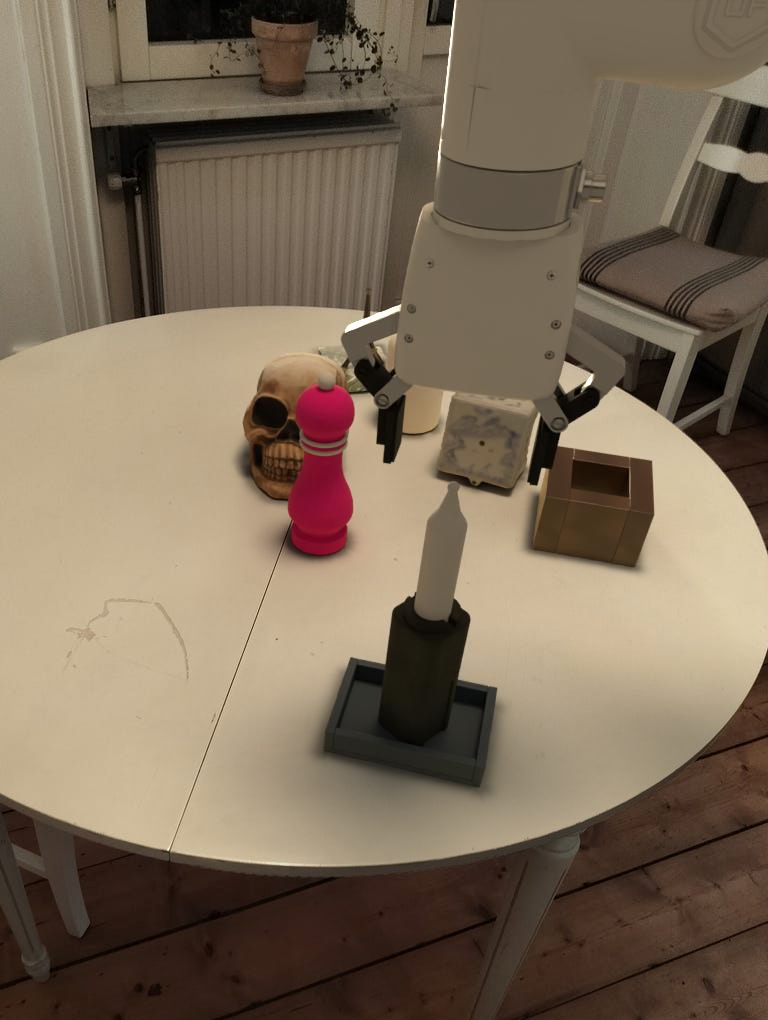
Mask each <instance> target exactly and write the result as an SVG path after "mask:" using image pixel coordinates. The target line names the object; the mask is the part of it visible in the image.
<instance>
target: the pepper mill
mask: <svg viewBox="0 0 768 1020" xmlns="http://www.w3.org/2000/svg"><path fill="white" fill-rule="evenodd" d="M335 382H336V380H335V377H334V375H333V374H332V373H330V372H323V373H322V374H320V375H319V377H318V384H316V385H312V386H311V387H309V388H307V389H306V390H305V391H303V393H302V394H301V395H300V396H299V399H298V401H297V404H296V410H295V414H296V420H297V422H298V424H299V426H300V427H301V428H302V429H301V430H300V441H299V442H300V446H301V447H302V449H303V450H304V459H303V465H302V469H301V471H300V473H299V475H298V478H297V479H296V481H295V483H294V485H293V487H292V490H291V492H290V495H289V499H287V500H288V501H287V513H288V515H289V518H290V519H291V521H292V523H291V542H292V544H293V545H294V547H296V548H297V549H298V550H299V551H302V552H303V553H306V554H308V555H314V556H315V555H316V556H325V555H326V556H327V555H331V554H334V553H336V552H339V551H340V550H341V549H342V548H344V546H345V545H346V543H347V539H348V525H347V524H348V523H349V522H350V520H351V519H352V517H353V514H354V499H353V494H352V491H351V488H350V486H349V484H348V482H347V479H346V476H345V474H344V469H343V453H344V451H345V450H346V449H347V448H348V444H349V441H348V440H349V439H348V438H349V434H348V432H347V430H348V429H349V430H350V428H351V427H352V425H353V423H354V421H355V417H356V408H355V402H354V400H353V397H352V395H351V394H350V392H349V393H348V392H347V391H346V390H345V389H343V388H342V387H340V386H338V385H335Z"/></svg>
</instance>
